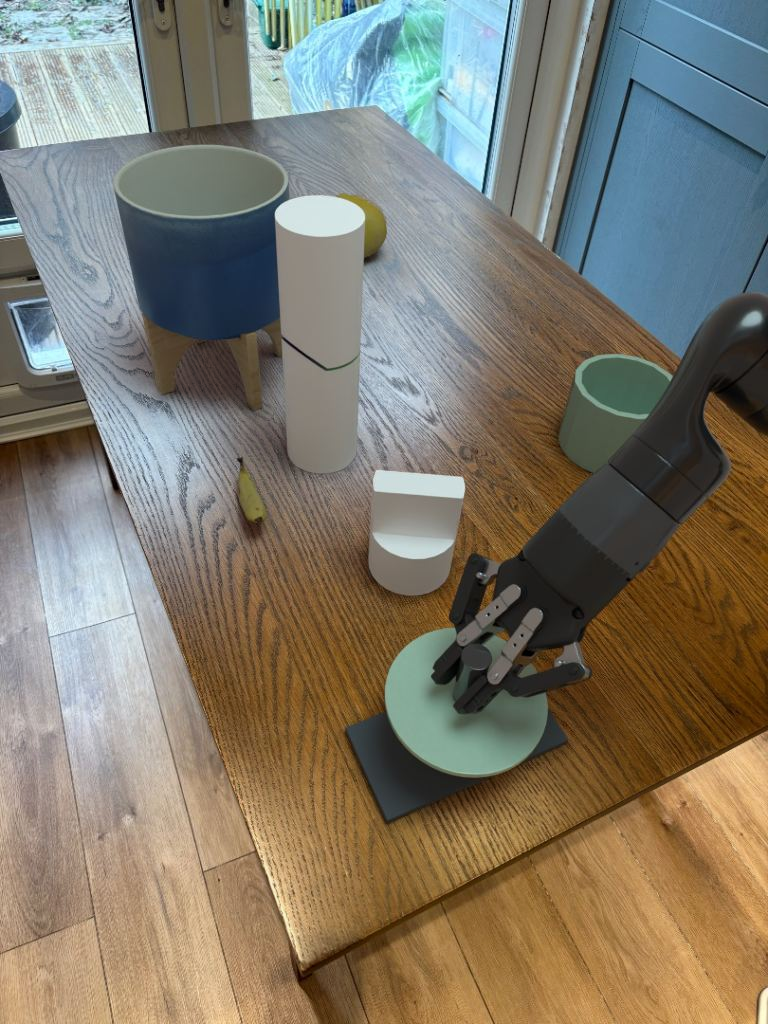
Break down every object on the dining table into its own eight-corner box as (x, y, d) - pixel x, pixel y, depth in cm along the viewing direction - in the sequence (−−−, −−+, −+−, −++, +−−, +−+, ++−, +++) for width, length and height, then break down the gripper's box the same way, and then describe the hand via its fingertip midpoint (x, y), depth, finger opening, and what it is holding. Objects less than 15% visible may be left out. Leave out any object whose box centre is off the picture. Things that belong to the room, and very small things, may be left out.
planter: (189, 433, 94) (152, 233, 75) (133, 355, 104) (88, 161, 85) (322, 386, 102) (319, 194, 83) (257, 318, 112) (242, 133, 93)
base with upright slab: (450, 535, 84) (464, 456, 76) (450, 599, 78) (465, 521, 70) (371, 528, 85) (376, 449, 76) (364, 592, 78) (369, 513, 70)
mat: (514, 664, 73) (516, 659, 73) (566, 743, 68) (568, 739, 67) (345, 731, 68) (345, 727, 67) (386, 824, 62) (387, 820, 62)
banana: (271, 539, 83) (269, 515, 80) (250, 544, 82) (247, 519, 79) (252, 478, 89) (250, 453, 86) (232, 482, 88) (229, 457, 86)
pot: (654, 422, 100) (678, 363, 93) (657, 486, 92) (684, 426, 85) (560, 405, 102) (577, 346, 95) (555, 467, 93) (573, 407, 86)
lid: (549, 652, 67) (568, 605, 62) (538, 799, 58) (559, 758, 53) (401, 621, 68) (407, 572, 63) (367, 759, 59) (371, 715, 54)
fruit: (380, 273, 123) (383, 214, 116) (316, 265, 124) (315, 205, 117) (390, 244, 130) (393, 186, 123) (329, 236, 131) (329, 179, 124)
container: (314, 483, 89) (309, 245, 67) (273, 444, 93) (257, 209, 71) (370, 454, 93) (383, 221, 71) (329, 418, 97) (329, 188, 75)
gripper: (519, 468, 57) (376, 628, 61) (655, 596, 49) (480, 770, 53) (556, 493, 63) (423, 637, 67) (682, 610, 55) (523, 765, 59)
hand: (449, 695), depth 60 cm, fingers closed on lid, 2 cm apart
